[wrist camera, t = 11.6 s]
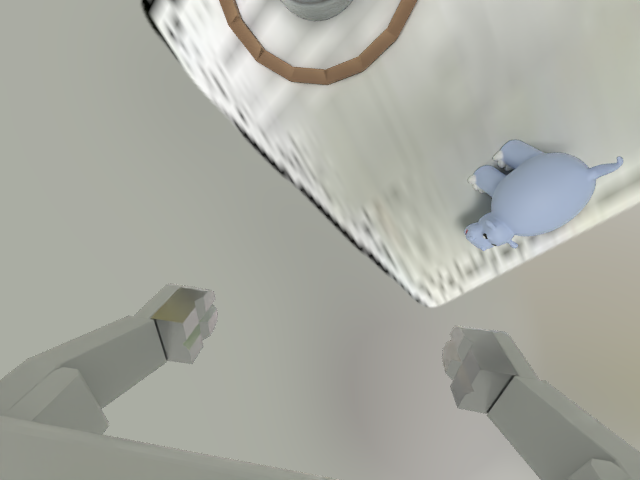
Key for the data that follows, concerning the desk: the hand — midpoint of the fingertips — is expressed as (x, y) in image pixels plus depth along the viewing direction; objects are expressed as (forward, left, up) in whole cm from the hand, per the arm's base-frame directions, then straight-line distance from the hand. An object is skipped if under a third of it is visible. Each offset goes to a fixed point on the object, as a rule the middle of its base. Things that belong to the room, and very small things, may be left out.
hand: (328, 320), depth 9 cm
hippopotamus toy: (-22, +2, -31) cm, 39 cm away
